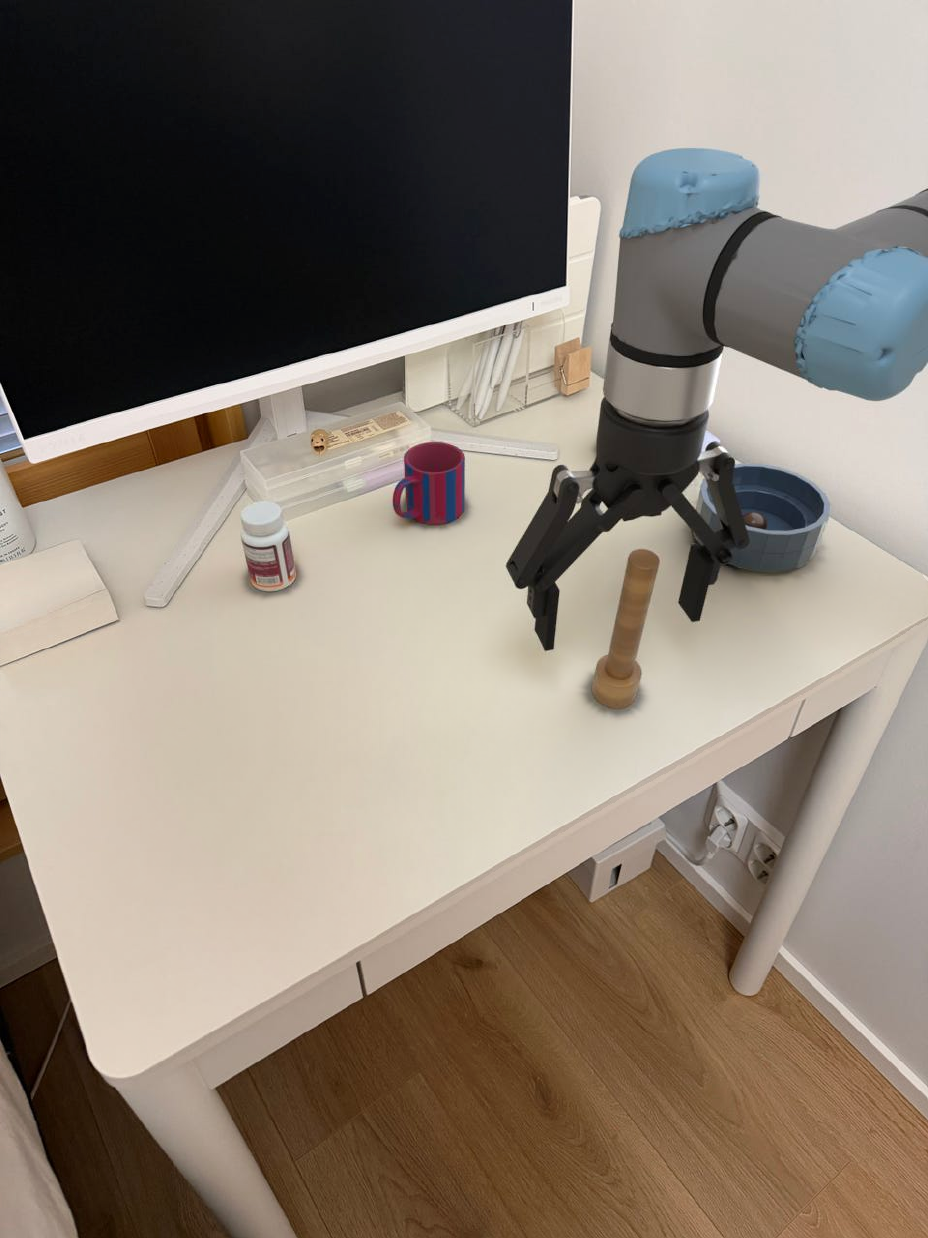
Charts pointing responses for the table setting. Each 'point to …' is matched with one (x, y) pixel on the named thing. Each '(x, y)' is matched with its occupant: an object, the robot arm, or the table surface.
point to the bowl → (773, 517)
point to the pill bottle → (267, 546)
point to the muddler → (627, 634)
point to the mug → (432, 483)
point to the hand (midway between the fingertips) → (617, 625)
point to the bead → (755, 520)
